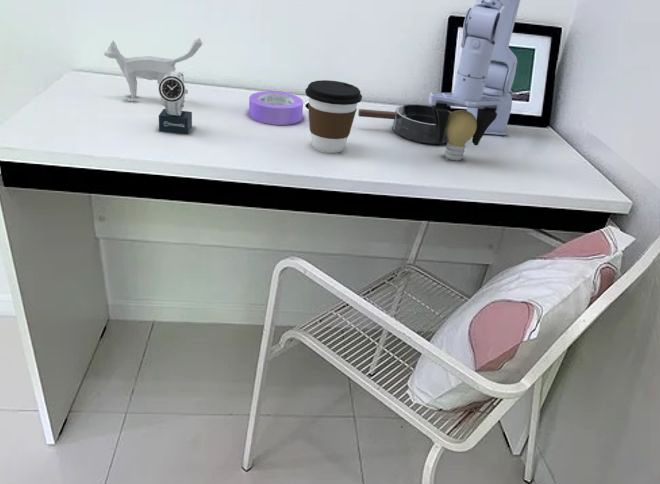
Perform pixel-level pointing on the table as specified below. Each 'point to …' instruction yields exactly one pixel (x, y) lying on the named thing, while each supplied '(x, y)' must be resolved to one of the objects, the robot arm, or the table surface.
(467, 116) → the light bulb
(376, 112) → the pan handle
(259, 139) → the table surface
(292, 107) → the tape roll
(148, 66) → the cat figurine
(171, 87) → the watch
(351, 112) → the coffee cup
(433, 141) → the pan
